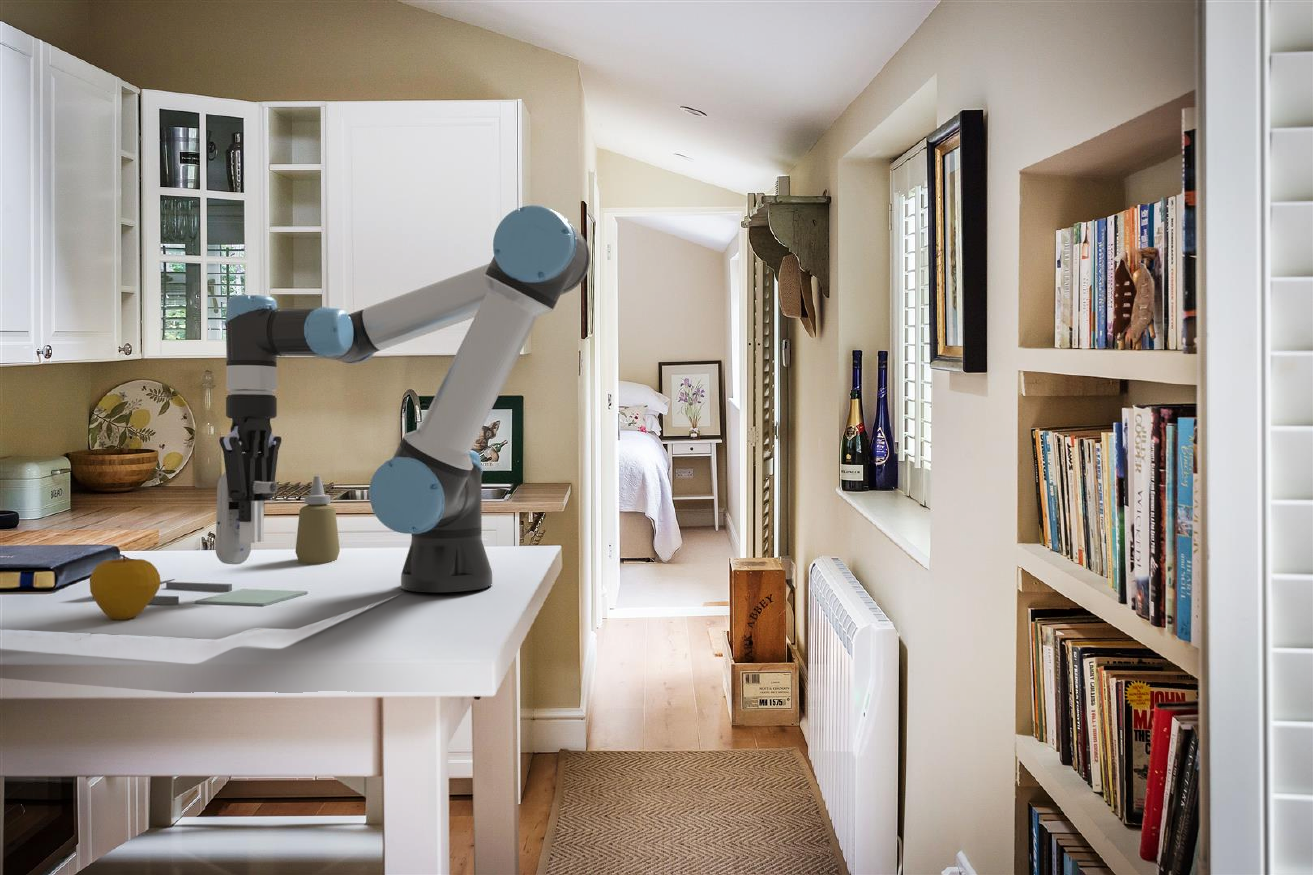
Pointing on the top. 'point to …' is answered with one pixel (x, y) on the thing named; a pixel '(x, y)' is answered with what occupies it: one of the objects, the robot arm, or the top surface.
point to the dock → (187, 586)
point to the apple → (124, 586)
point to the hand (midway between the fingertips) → (251, 541)
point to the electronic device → (233, 523)
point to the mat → (251, 597)
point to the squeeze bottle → (317, 528)
